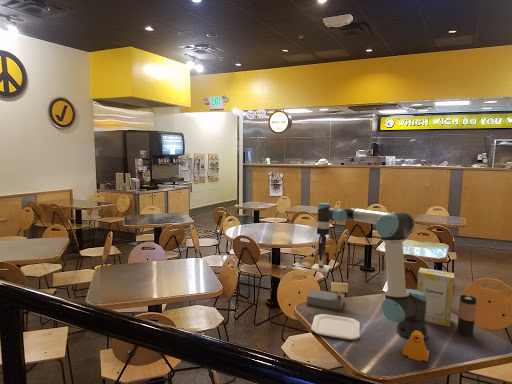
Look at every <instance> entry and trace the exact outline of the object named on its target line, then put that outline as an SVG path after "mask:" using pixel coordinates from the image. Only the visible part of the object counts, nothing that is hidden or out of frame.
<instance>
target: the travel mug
mask: <svg viewBox="0 0 512 384" xmlns="http://www.w3.org/2000/svg"><path fill="white" fill-rule="evenodd" d="M459 298H460V299H459V305H458V316H457V333H458V334H459V335H461V336H464V337H473V335H474V334H473V333H474V327H475V326H474V325H475V320H476V318H475V317H476V308H477V298H476V297H474V296H471V295H470V296H467V295H466V294H461V295H460V297H459Z"/></svg>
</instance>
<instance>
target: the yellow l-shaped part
mask: <svg viewBox="0 0 512 384" xmlns="http://www.w3.org/2000/svg"><path fill="white" fill-rule="evenodd" d="M330 292H333V293H337V298H341V294H342V293H349V283H348V282H347V283H346V282H336V281H335V282H332V281H331V284H330Z"/></svg>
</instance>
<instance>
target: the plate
mask: <svg viewBox="0 0 512 384" xmlns="http://www.w3.org/2000/svg"><path fill="white" fill-rule="evenodd" d="M310 329H311V331H312V332H314V333H316V334H317V335H320V336H324V337H325V336H326V337H331V338H336V339H341V340H356V339H359V338H360V337H361V323H360V321H358V320H357V319H354V318H351V317H345V316H339V315H333V314H325V313H319V314H315V315H314V317H313V321H312V323H311V328H310Z"/></svg>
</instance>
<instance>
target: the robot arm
mask: <svg viewBox="0 0 512 384" xmlns="http://www.w3.org/2000/svg"><path fill="white" fill-rule="evenodd" d="M331 221H334V222H337V223H344V222H345V221H355V222H361V223H367V224H372V225H375V230H376V232H377V234H378V235H379V236H380V239H381V241H382V242H383V243H384V249H385V250H384V253H385V268H386V281H387V291H385V292H384V300H383V301H382V302H381V304H380V305H381V308H380V309H381V311H382V314H383V315H384V317H385V318H386V319H387V320H388V321H390V322H392V323H397V325H396V333H397V334H398V335H400V336H401V337H403V338H406V339H408V340H409V338H410V336H411V334H412V332H413V331H420V332H421V333H422V334H423V336H424V339H423V340H424V341H425V340H427V338H428V330H427V326H426V321H425V313H426V302H427V301H426V300H427V296H426V295H425V294H424V293H422V292H420V291H417V289H411V288H406V275H405V274H406V271H405V258H404V246H403V245H404V244H403V243H404V242H405V241H406V235H408V234H410V233H411V232H412V231H413V230H414V228H415V224H416V223H415V220H414V218H413V216H412V215H410V214H409V213H407V212H396V211H395V212H391V213H390V212H385V211H384V212H383V211H377V210H369V209H363V208H357V207H352V206H351V207H341V208H339V207H337V208H336V207H332V205H331V204H330V203H328V202H320V203H318V206H317V221H316V234H317V235H319V237H318V253H317V256H318V263H317V264H318V265H321V266H323V251H324V255H325V254H327V252H326V245H327V236H328V235H329V234H330V224H331V223H330V222H331ZM415 339H418V340H419V338H418V337H415Z"/></svg>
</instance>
